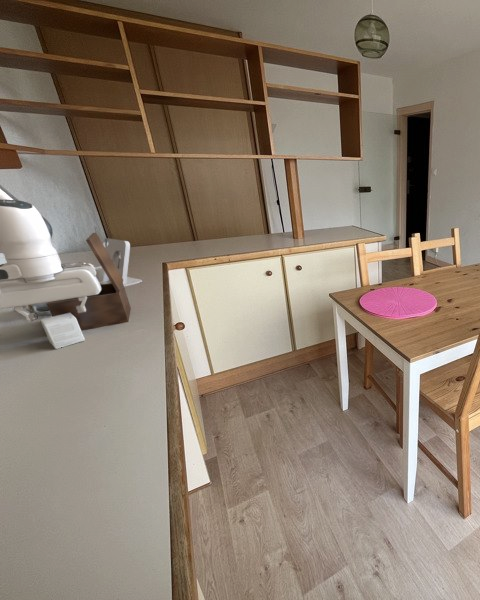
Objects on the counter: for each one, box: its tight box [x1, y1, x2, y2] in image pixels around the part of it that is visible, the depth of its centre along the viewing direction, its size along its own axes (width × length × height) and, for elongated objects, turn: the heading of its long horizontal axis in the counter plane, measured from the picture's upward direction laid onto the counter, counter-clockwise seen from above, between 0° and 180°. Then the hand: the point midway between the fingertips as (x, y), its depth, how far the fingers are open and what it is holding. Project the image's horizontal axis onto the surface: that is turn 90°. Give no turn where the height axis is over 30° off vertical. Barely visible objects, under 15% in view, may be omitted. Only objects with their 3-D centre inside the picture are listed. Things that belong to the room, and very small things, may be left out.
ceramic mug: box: [27, 302, 51, 316], centre depth 105 cm, size 11×8×8 cm
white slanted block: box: [39, 313, 86, 350], centre depth 86 cm, size 6×6×7 cm
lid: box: [85, 232, 123, 292], centre depth 97 cm, size 17×14×1 cm
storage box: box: [47, 283, 132, 332], centre depth 99 cm, size 16×14×10 cm
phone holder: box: [94, 237, 143, 288], centre depth 132 cm, size 17×10×18 cm, turn 67°
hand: (58, 315), depth 84 cm, fingers open, 8 cm apart
